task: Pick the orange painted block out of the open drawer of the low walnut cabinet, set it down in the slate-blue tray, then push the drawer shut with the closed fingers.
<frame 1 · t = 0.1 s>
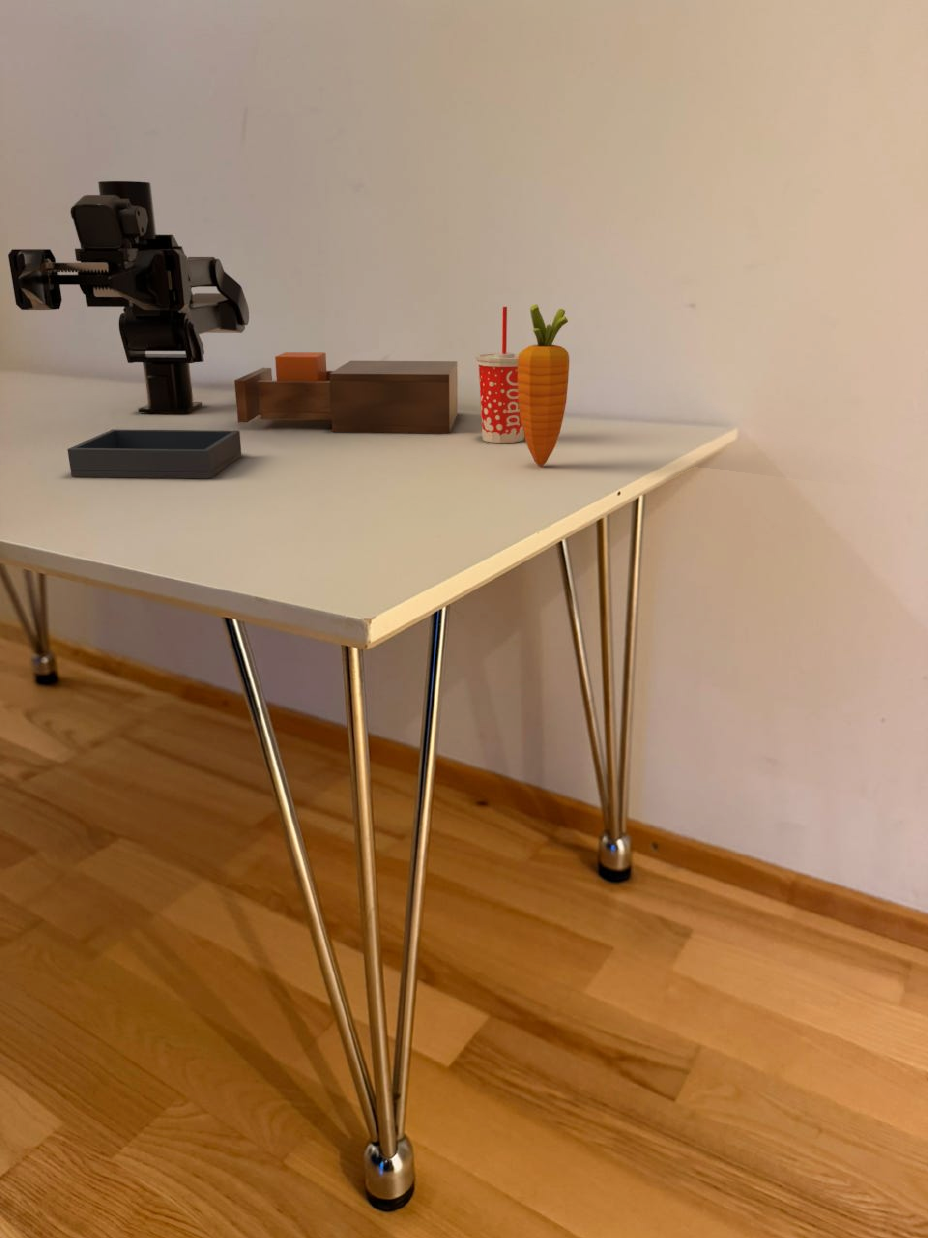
hand: (66, 282, 95), 17 cm above the table, tool horizontal, fingers open, 9 cm apart
drawer: (296, 394, 115), point 3 cm above the table, slide at 10.0 cm, touching cube
beverage cup: (503, 440, 106), on the table
cabinet: (398, 422, 116), on the table
carrot: (540, 468, 92), on the table
tray: (160, 465, 92), on the table
cube: (303, 405, 115), point 2 cm above the table, touching drawer
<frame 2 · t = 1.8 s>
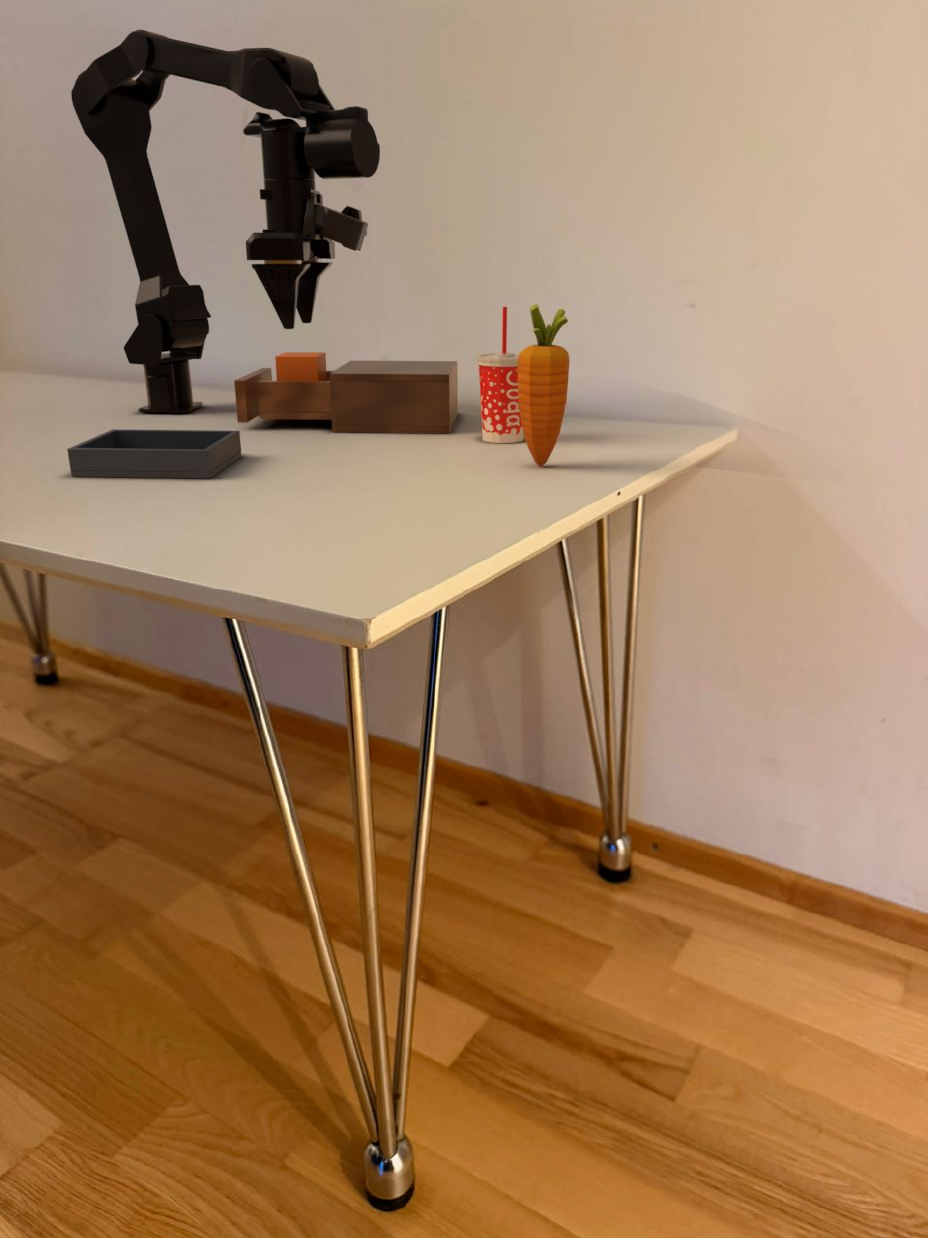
hand: (298, 325, 112), 11 cm above the table, tool pointing down, fingers open, 9 cm apart
nothing on the table moved.
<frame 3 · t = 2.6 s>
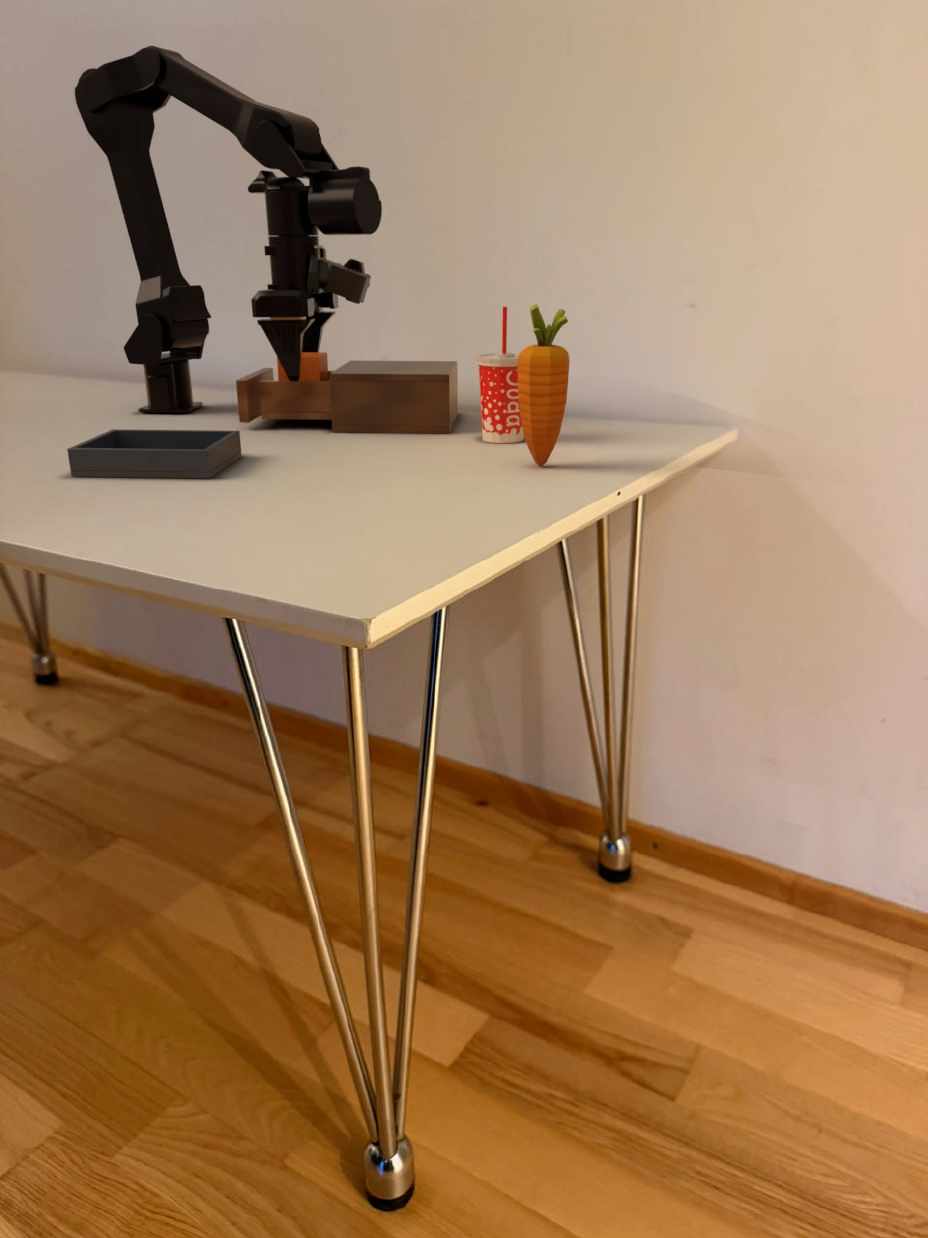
hand: (303, 375, 114), 5 cm above the table, tool pointing down
drawer: (297, 394, 115), point 3 cm above the table, slide at 9.8 cm, touching cube, gripper
everything else where it was.
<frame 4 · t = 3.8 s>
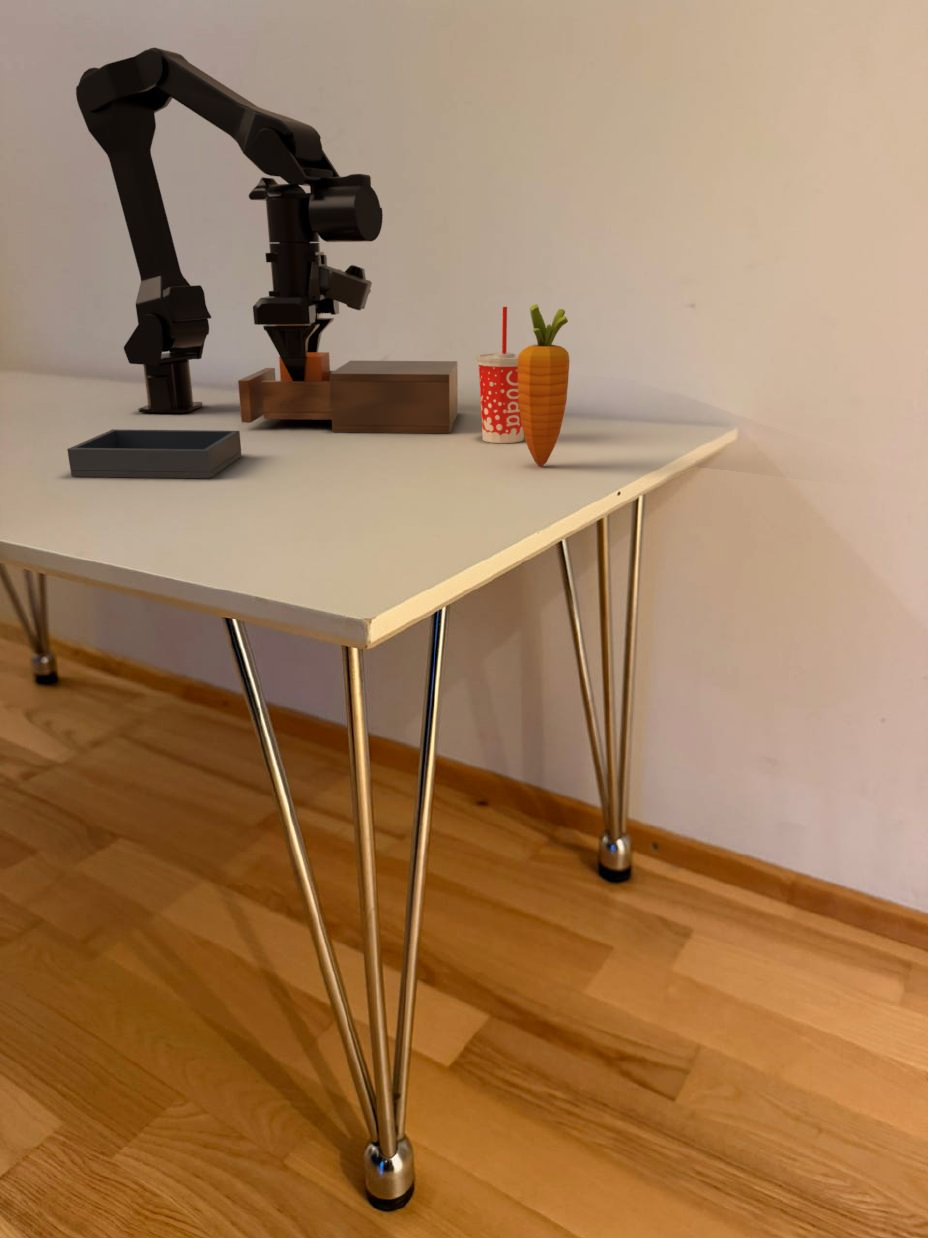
hand: (304, 381, 115), 5 cm above the table, tool pointing down, fingers closed on cube, 5 cm apart
drawer: (299, 394, 115), point 3 cm above the table, slide at 9.5 cm, touching cube
cube: (307, 405, 116), point 2 cm above the table, touching drawer, gripper
everything else where it was.
when the fingers open (3 cm above the table, at t = 9.0 s): cube stays where it is, resting on tray.
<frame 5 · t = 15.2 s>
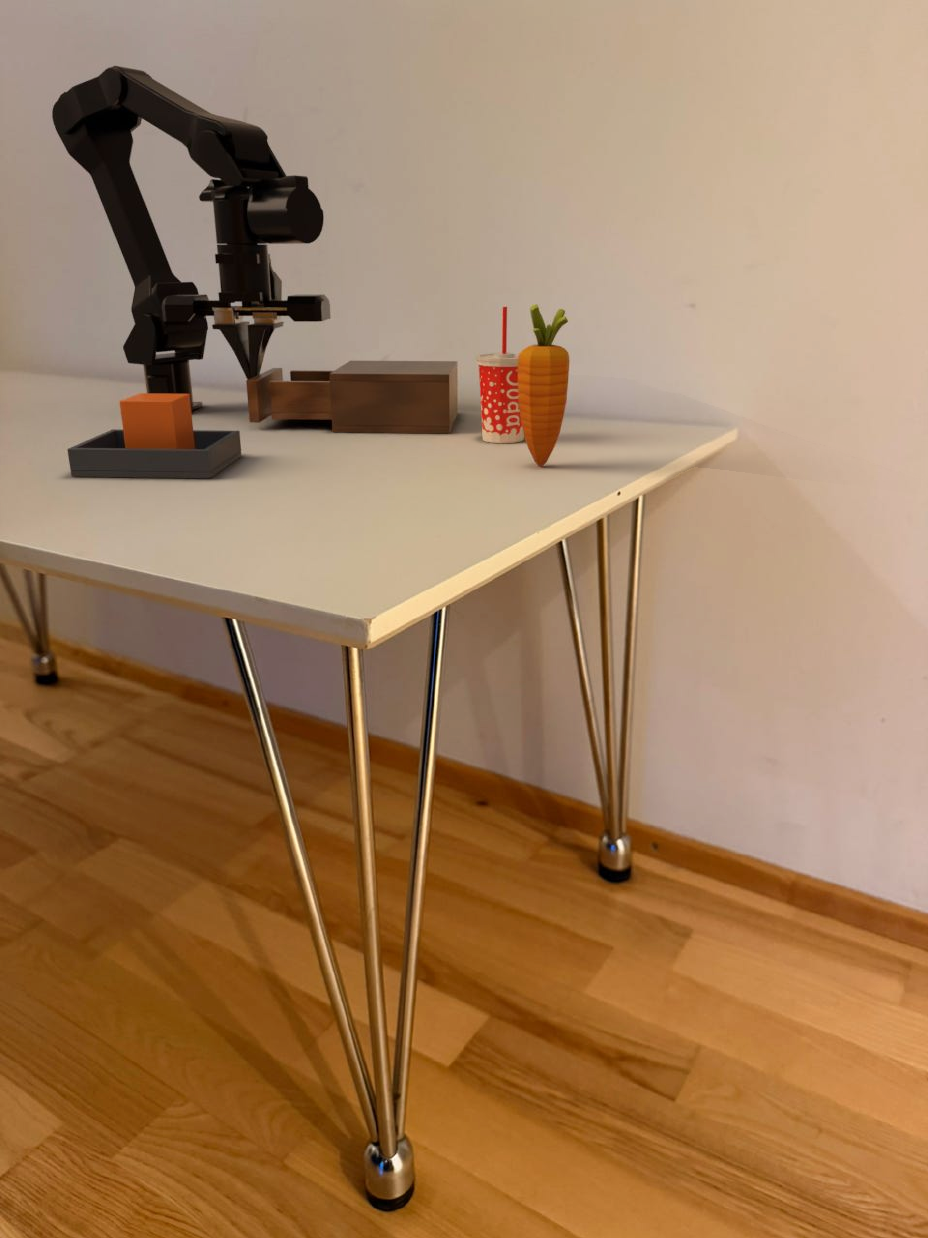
hand: (253, 383, 115), 5 cm above the table, tool pointing down, fingers closed
drawer: (307, 394, 115), point 3 cm above the table, slide at 8.6 cm, touching gripper
cube: (162, 459, 92), point 1 cm above the table, touching tray
everything else where it was.
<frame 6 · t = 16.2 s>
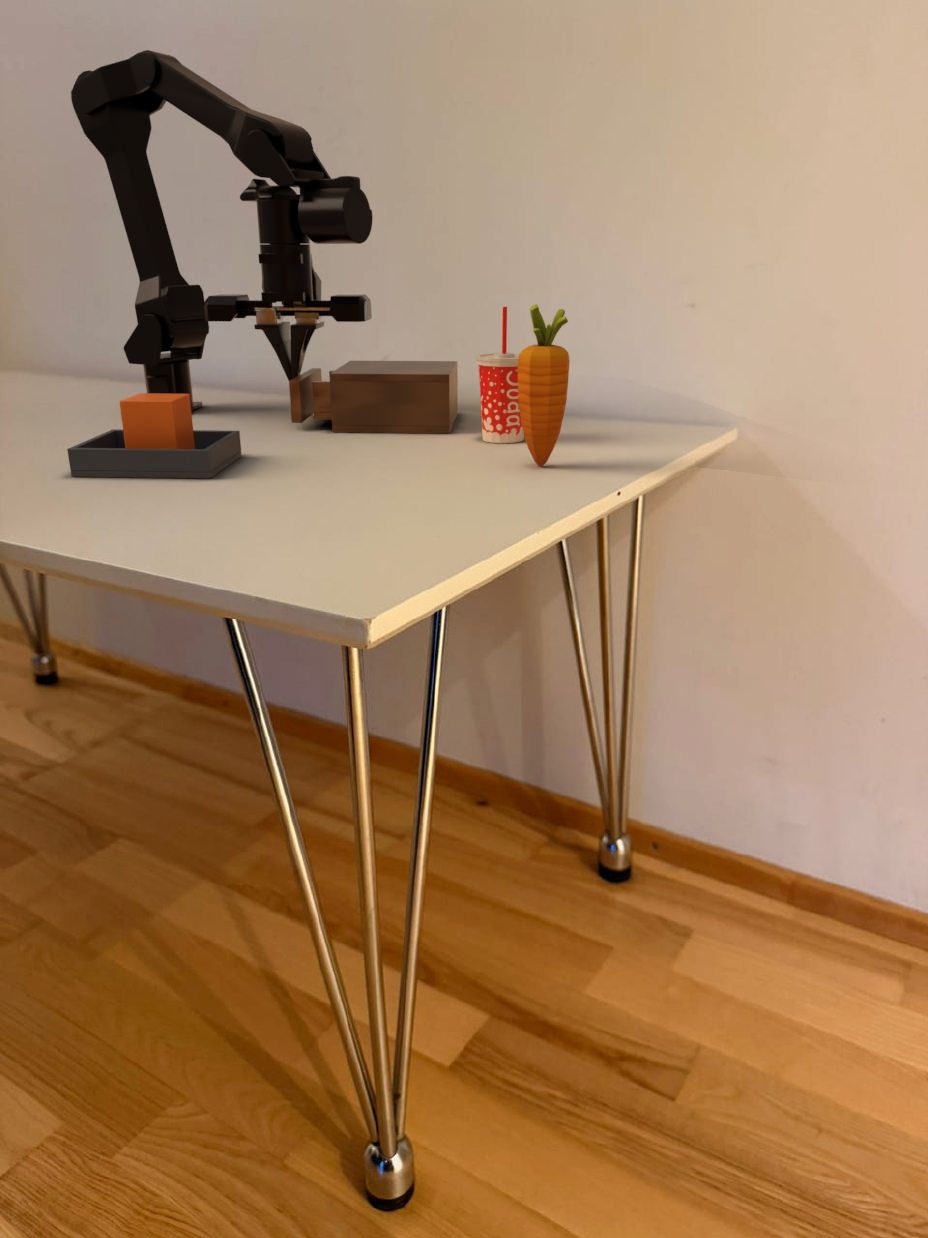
hand: (293, 383, 114), 5 cm above the table, tool pointing down, fingers closed
drawer: (348, 394, 115), point 3 cm above the table, slide at 3.6 cm, touching gripper
everything else where it was.
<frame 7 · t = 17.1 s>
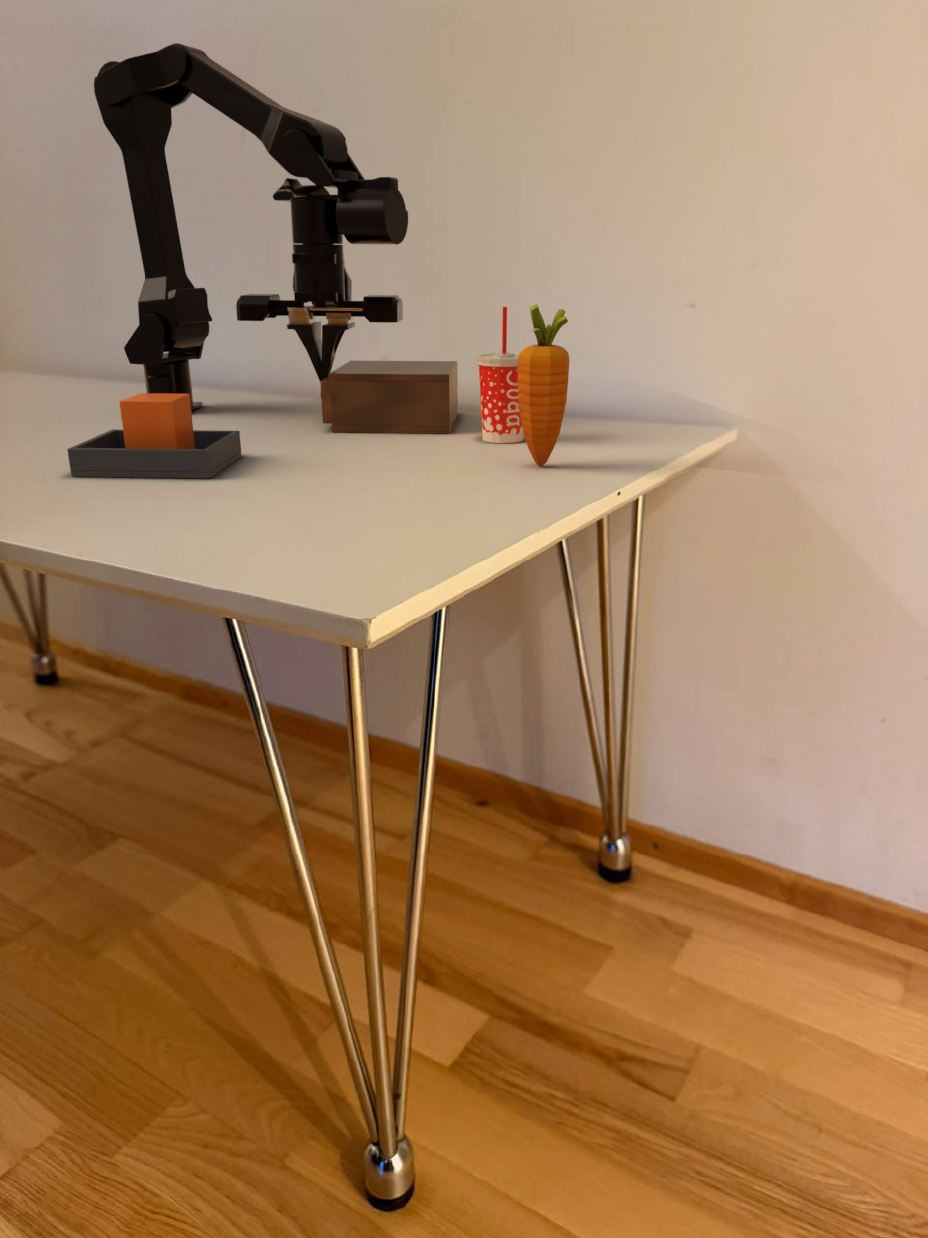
hand: (324, 383, 114), 5 cm above the table, tool pointing down, fingers closed
drawer: (378, 394, 114), point 3 cm above the table, slide at 0.0 cm, touching cabinet, gripper
everything else where it was.
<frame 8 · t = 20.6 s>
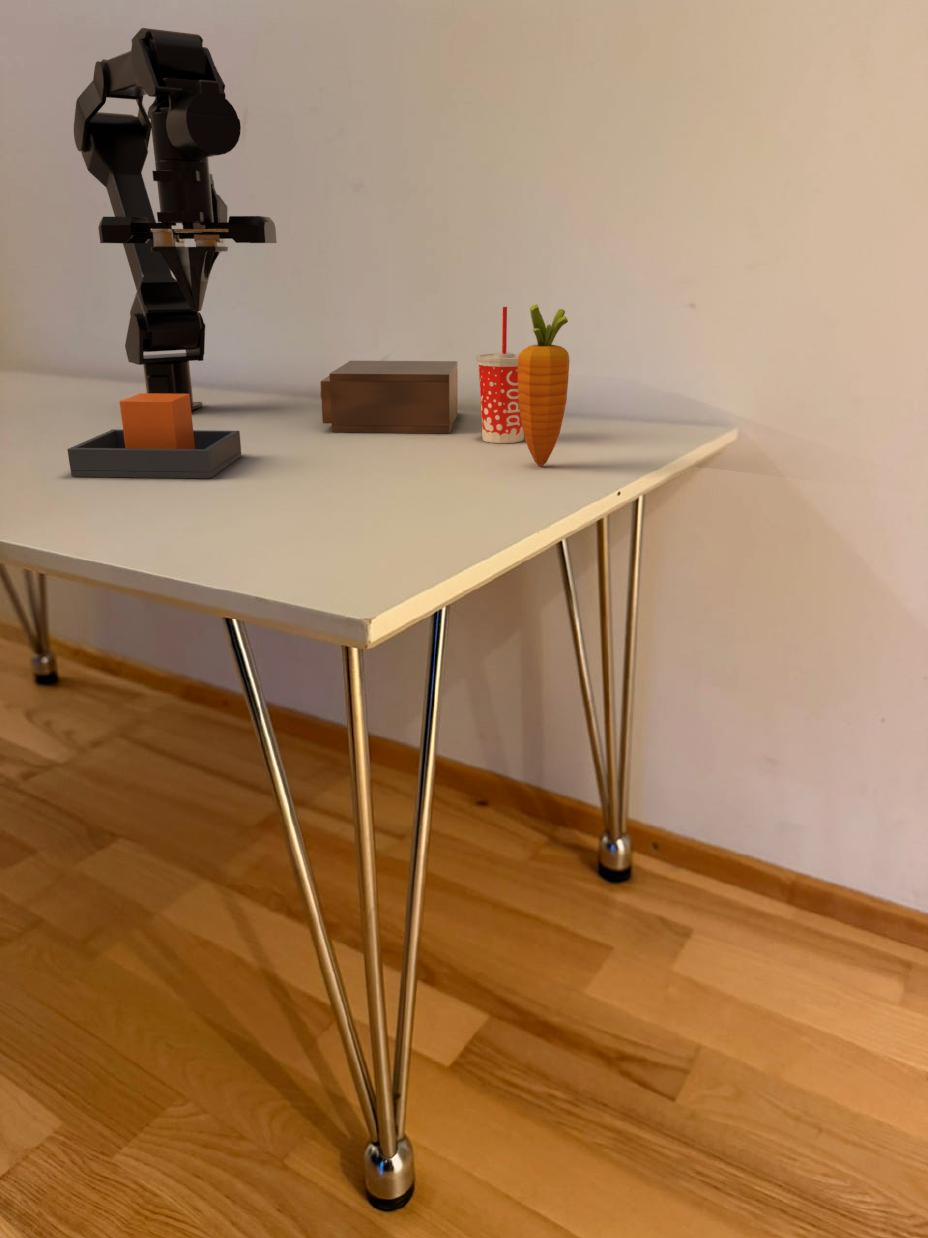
hand: (196, 310, 110), 13 cm above the table, tool pointing down, fingers closed
drawer: (378, 394, 114), point 3 cm above the table, slide at 0.0 cm, touching cabinet
everything else where it was.
at the end: cube inside the target area in the tray (0.3 cm from its centre), point 0.6 cm above the tray's base; drawer slide at 0.0 cm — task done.
